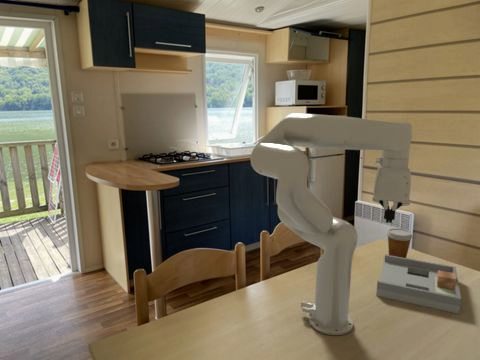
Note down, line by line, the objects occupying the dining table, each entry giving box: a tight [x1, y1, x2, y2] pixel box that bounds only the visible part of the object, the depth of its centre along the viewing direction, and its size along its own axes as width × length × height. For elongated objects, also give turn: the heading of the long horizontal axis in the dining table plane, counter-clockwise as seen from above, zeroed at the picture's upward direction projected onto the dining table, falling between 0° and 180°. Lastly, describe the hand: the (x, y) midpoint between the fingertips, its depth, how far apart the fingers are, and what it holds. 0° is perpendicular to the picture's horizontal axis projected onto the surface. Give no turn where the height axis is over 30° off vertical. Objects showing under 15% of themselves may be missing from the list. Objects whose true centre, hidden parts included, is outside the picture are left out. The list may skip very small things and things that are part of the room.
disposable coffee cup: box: [386, 227, 413, 258], centre depth 151 cm, size 10×10×12 cm
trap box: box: [375, 254, 462, 315], centre depth 128 cm, size 24×25×5 cm
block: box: [437, 270, 456, 290], centre depth 125 cm, size 5×5×4 cm
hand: (388, 221), depth 115 cm, fingers closed
